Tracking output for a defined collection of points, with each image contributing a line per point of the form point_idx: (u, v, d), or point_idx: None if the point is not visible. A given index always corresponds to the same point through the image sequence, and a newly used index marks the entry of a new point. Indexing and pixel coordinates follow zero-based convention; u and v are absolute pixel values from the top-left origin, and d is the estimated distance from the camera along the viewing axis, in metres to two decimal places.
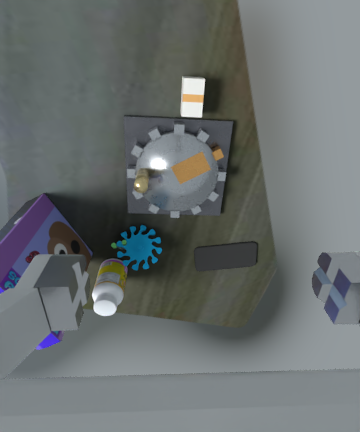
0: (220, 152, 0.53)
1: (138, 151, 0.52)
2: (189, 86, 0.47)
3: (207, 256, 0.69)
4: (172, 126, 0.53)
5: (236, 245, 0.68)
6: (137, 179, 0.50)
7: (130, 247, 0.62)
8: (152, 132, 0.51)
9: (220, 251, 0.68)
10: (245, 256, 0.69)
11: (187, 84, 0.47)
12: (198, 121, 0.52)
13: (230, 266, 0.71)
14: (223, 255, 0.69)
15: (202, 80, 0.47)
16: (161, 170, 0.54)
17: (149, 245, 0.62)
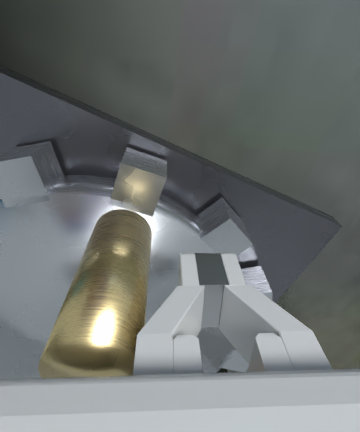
0: None
1: (223, 248, 0.13)
2: None
3: None
4: None
5: None
6: None
7: None
8: None
9: None
10: None
11: None
12: None
13: None
14: None
15: None
16: None
17: None
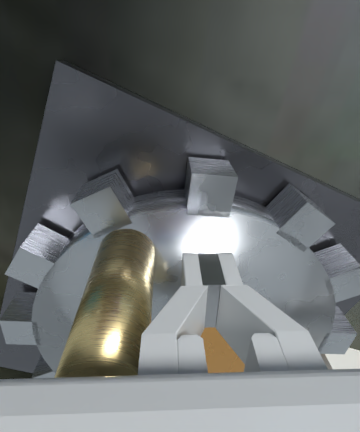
0: None
1: (214, 201, 0.11)
2: None
3: None
4: None
5: None
6: (127, 339, 0.08)
7: None
8: (315, 216, 0.12)
9: None
10: None
11: None
12: None
13: None
14: None
15: None
16: None
17: None
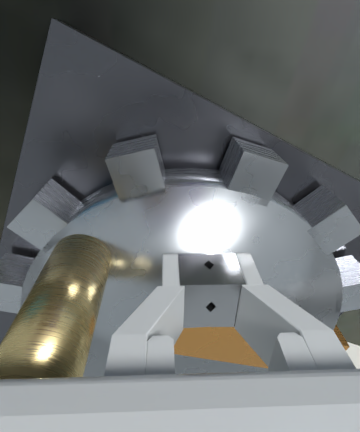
0: None
1: (142, 181, 0.11)
2: None
3: None
4: None
5: None
6: (38, 351, 0.07)
7: None
8: (260, 163, 0.10)
9: None
10: None
11: None
12: None
13: None
14: None
15: None
16: None
17: None
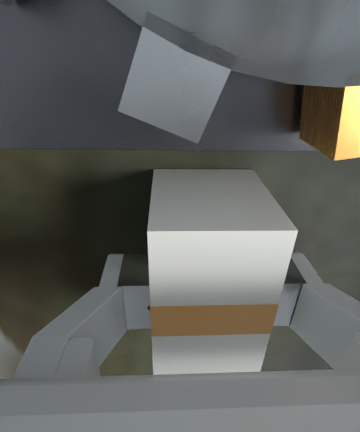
0: None
1: None
2: (233, 357, 0.09)
3: None
4: None
5: None
6: None
7: None
8: None
9: None
10: None
11: (243, 364, 0.09)
12: (157, 140, 0.08)
13: None
14: None
15: None
16: None
17: None
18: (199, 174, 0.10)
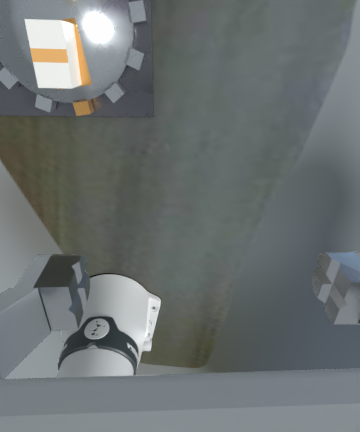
0: (84, 112, 0.35)
1: None
2: (60, 74, 0.30)
3: None
4: None
5: None
6: None
7: None
8: (141, 9, 0.30)
9: None
10: None
11: (64, 79, 0.30)
12: (49, 113, 0.37)
13: None
14: None
15: (41, 85, 0.30)
16: None
17: None
18: None
